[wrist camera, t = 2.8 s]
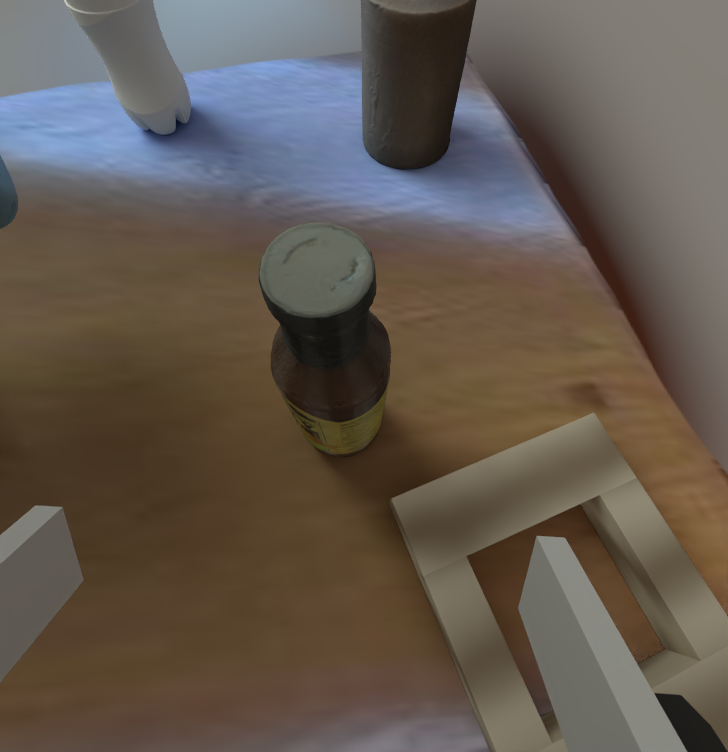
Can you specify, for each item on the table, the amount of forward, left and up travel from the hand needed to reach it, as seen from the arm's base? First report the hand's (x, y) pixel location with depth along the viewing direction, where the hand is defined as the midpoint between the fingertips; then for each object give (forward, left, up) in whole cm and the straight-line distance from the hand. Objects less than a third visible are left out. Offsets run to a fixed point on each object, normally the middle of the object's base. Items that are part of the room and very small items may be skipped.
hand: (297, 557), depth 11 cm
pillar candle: (-37, +22, -19) cm, 46 cm away
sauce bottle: (-9, +4, -19) cm, 21 cm away
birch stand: (+8, +13, -18) cm, 24 cm away
